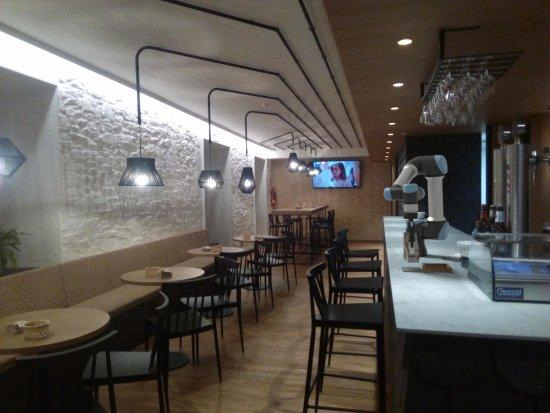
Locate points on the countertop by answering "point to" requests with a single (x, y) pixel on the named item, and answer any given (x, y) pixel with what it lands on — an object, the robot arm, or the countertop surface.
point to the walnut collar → (436, 268)
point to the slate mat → (411, 269)
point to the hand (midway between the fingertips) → (411, 252)
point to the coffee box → (408, 257)
